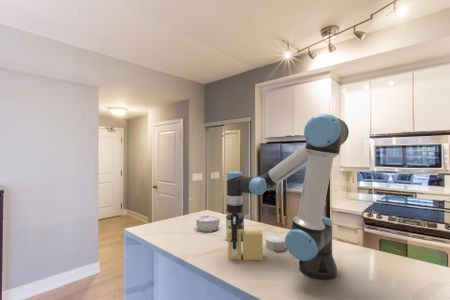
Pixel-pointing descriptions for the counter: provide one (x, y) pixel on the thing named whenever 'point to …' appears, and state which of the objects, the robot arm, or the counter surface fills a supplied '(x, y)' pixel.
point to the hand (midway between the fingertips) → (234, 251)
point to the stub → (237, 245)
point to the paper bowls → (207, 222)
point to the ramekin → (275, 242)
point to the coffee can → (239, 227)
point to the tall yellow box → (252, 245)
